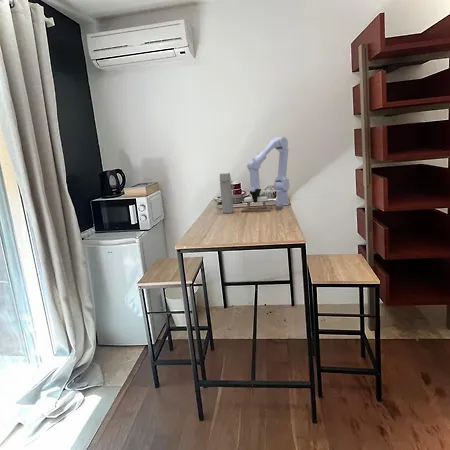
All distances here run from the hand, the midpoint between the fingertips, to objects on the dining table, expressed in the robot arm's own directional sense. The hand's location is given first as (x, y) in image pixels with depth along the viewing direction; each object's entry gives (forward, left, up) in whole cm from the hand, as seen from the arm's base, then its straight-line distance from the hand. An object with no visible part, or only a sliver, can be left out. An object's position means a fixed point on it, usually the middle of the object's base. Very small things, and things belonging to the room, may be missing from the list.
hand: (256, 201), depth 242 cm
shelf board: (0, 0, 0) cm, 0 cm away
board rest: (-2, +14, -6) cm, 15 cm away
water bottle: (+4, -17, -6) cm, 18 cm away
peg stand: (0, 0, -6) cm, 6 cm away
